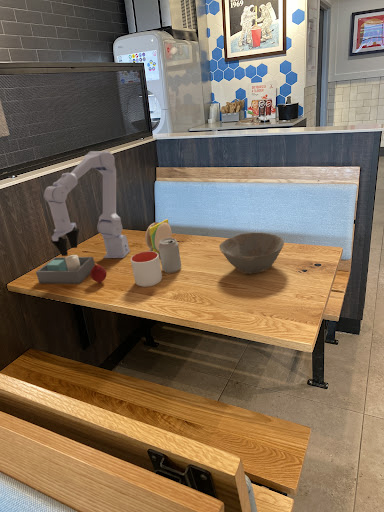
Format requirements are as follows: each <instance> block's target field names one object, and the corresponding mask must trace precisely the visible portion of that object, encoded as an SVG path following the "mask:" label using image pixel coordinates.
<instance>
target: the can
mask: <svg viewBox="0 0 384 512" xmlns="http://www.w3.org/2000/svg"><path fill="white" fill-rule="evenodd" d="M159 243H160V244H159V246H158V247H159V253H158V254H159V260H160V267H161V271H163V272H165V273H168V274H169V273H171V274H174V273H177V272H178V271H180V269H181V268H182V260H181V254H180V246H179V242H178V241H177V239H176V238H174V237H171V238H166V239H162V240H161V241H160V242H159Z"/></svg>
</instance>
